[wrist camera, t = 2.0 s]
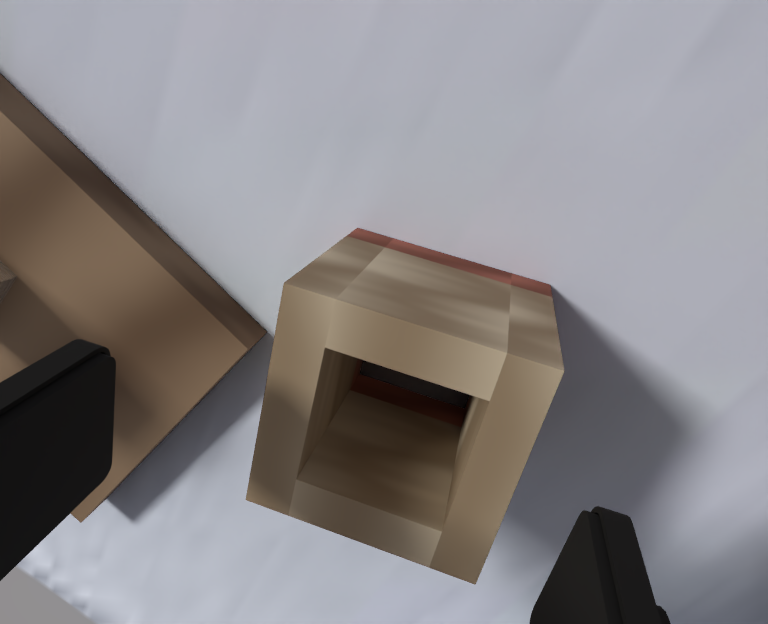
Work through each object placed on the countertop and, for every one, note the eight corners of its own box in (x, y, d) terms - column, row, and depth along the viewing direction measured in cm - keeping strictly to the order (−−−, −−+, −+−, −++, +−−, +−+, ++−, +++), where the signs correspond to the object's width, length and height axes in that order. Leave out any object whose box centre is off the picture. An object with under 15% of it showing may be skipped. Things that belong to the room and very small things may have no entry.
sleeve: (550, 284, 17) (564, 370, 11) (488, 448, 19) (475, 584, 14) (357, 227, 18) (284, 282, 12) (321, 392, 20) (245, 500, 15)
